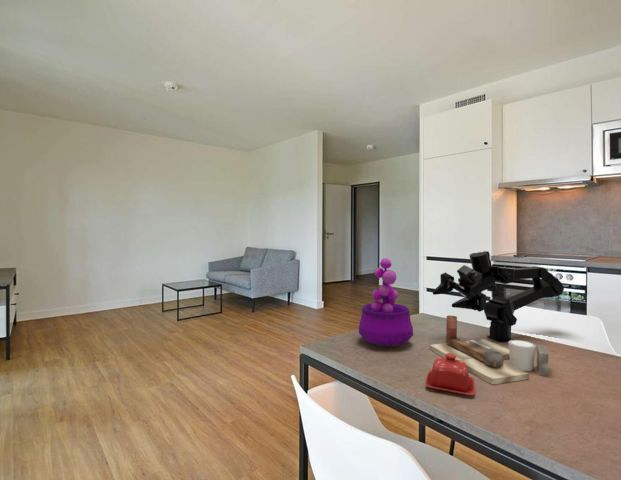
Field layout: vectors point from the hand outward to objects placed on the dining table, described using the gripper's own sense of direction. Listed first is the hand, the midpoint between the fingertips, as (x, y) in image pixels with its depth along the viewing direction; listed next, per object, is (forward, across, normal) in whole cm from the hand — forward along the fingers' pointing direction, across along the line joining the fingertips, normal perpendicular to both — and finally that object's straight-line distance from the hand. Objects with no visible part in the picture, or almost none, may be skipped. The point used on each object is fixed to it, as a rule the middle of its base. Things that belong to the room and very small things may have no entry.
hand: (442, 299), depth 117 cm
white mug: (-6, +26, +12) cm, 29 cm away
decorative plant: (+20, -6, +13) cm, 25 cm away
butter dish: (+21, +27, +3) cm, 35 cm away
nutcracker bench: (-1, +19, +12) cm, 23 cm away
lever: (+3, +16, +10) cm, 19 cm away
